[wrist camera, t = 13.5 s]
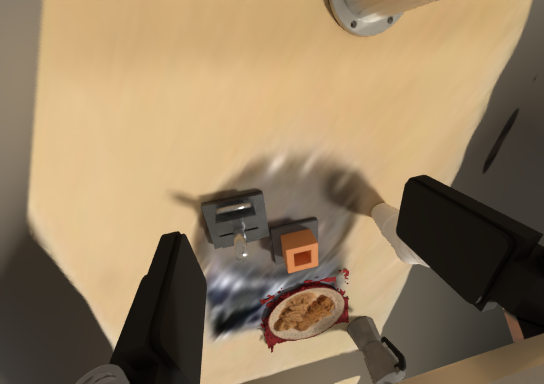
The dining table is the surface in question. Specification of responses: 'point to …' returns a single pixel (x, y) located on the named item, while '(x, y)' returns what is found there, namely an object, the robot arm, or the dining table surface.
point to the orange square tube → (299, 250)
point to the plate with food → (305, 312)
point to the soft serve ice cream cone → (393, 232)
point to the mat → (290, 228)
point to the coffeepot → (377, 352)
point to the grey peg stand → (236, 222)
